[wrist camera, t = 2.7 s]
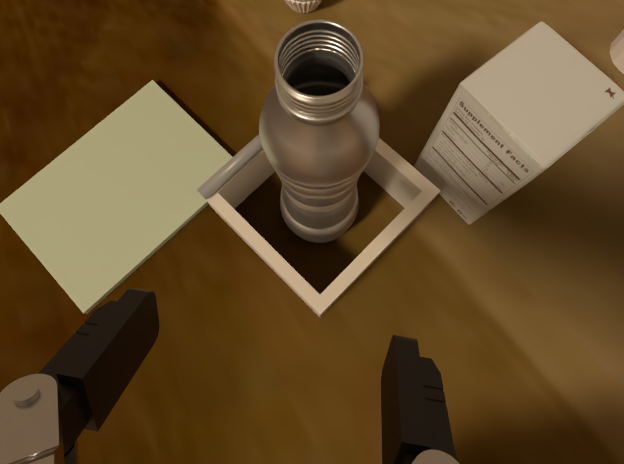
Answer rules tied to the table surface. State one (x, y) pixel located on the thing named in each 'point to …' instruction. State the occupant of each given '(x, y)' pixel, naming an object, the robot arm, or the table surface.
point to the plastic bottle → (319, 127)
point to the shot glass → (618, 51)
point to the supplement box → (515, 121)
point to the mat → (115, 195)
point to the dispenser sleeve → (224, 199)
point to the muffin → (303, 5)
